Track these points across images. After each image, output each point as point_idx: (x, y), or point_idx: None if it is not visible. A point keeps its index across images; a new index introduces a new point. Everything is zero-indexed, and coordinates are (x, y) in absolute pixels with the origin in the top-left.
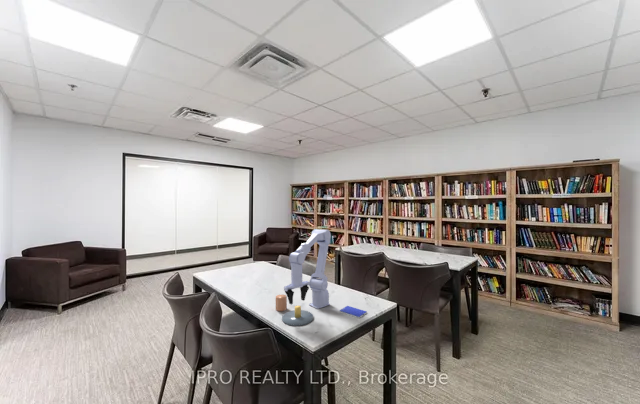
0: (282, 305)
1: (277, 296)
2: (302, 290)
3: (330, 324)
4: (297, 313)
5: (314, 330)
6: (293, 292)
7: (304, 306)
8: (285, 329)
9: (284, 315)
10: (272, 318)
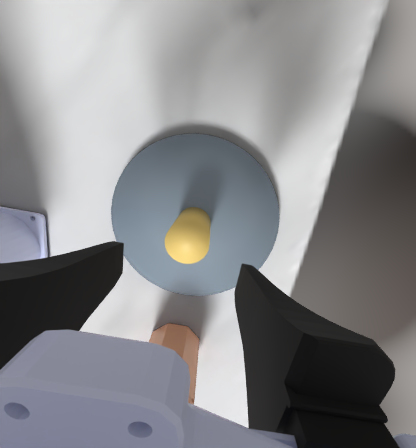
0: (181, 348)
1: None
2: (54, 326)
3: (120, 4)
4: (205, 220)
5: (242, 38)
6: (312, 332)
7: None
8: (320, 185)
9: (228, 281)
10: None
